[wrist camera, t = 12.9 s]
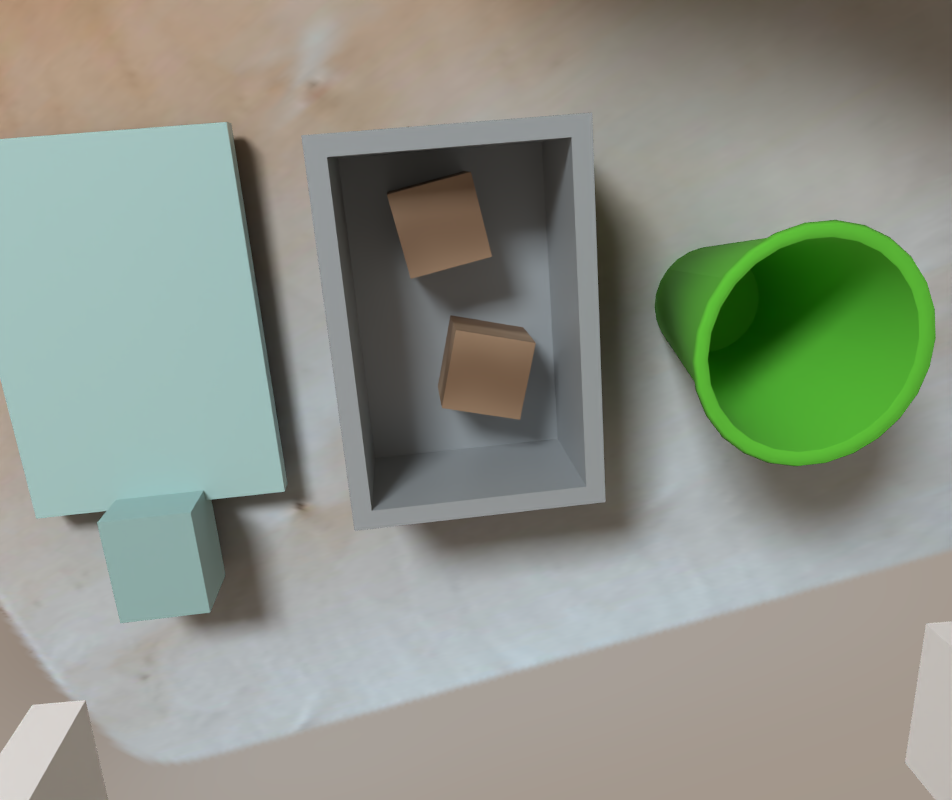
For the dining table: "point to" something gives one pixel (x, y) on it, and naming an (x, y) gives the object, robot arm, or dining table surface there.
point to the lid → (136, 349)
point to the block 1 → (439, 224)
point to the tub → (464, 295)
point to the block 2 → (485, 367)
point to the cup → (801, 338)
